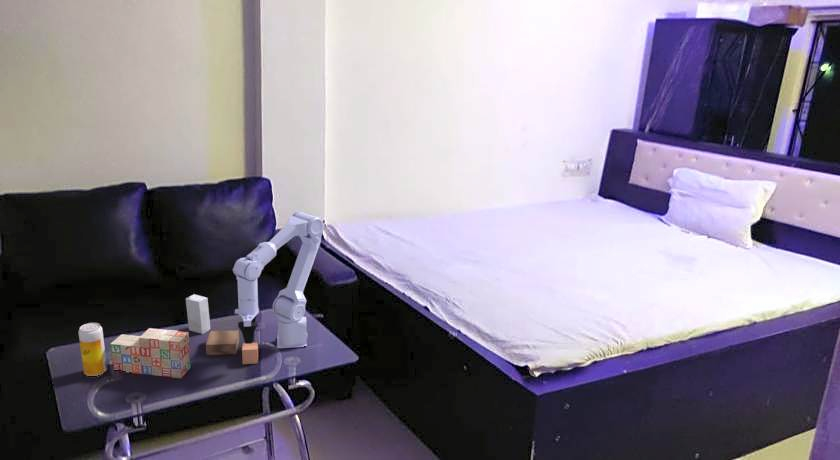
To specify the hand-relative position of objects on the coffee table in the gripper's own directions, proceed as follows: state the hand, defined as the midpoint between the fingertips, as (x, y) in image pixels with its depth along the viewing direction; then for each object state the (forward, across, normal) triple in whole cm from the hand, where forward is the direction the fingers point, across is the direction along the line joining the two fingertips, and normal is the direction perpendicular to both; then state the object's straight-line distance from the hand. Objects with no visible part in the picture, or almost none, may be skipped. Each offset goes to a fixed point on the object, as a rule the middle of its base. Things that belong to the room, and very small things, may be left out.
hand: (249, 337), depth 189 cm
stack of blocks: (+8, +2, -28) cm, 30 cm away
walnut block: (+8, -9, -9) cm, 15 cm away
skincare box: (+8, -22, -18) cm, 30 cm away
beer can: (+8, +2, -44) cm, 45 cm away
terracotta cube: (+8, 0, 0) cm, 8 cm away
